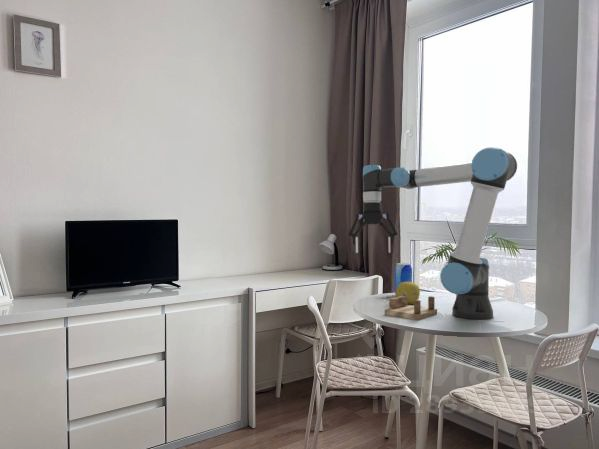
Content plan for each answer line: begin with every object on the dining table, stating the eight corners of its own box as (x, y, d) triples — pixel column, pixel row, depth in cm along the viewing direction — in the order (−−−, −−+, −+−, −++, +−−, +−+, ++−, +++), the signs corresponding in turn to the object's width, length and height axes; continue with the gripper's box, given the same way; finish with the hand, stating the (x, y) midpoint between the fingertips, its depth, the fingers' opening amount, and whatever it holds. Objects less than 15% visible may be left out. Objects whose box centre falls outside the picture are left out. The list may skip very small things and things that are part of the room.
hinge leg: (402, 304, 194) (402, 292, 194) (408, 304, 193) (408, 293, 193) (389, 307, 186) (389, 295, 186) (394, 308, 185) (394, 296, 185)
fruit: (424, 303, 208) (424, 281, 208) (409, 306, 202) (409, 283, 201) (405, 300, 216) (406, 279, 216) (391, 303, 209) (391, 281, 209)
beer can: (401, 294, 235) (401, 262, 235) (415, 296, 229) (415, 263, 229) (391, 295, 230) (391, 263, 230) (405, 298, 224) (405, 264, 223)
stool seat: (437, 314, 185) (437, 296, 185) (418, 320, 174) (418, 301, 174) (403, 309, 196) (403, 292, 195) (384, 314, 185) (384, 297, 184)
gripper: (402, 201, 197) (403, 251, 197) (343, 203, 201) (344, 252, 201) (402, 201, 189) (403, 252, 189) (341, 202, 194) (342, 253, 194)
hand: (373, 252), depth 195 cm, fingers open, 13 cm apart
